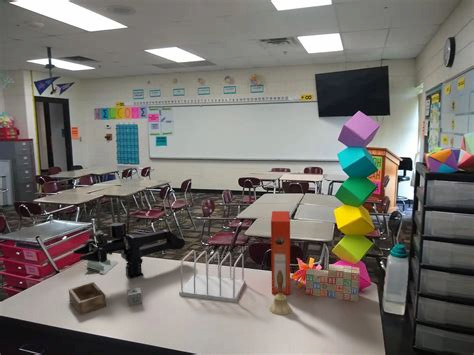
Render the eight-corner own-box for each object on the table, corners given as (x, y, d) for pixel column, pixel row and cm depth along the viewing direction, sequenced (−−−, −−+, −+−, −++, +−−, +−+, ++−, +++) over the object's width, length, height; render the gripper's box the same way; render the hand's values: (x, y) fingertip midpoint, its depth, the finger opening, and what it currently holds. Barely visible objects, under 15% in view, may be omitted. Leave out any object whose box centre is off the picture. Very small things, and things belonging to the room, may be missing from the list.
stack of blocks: (305, 294, 146) (305, 266, 144) (307, 288, 151) (307, 261, 150) (358, 302, 139) (359, 273, 137) (358, 294, 144) (359, 267, 143)
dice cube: (129, 306, 138) (128, 295, 137) (127, 301, 142) (126, 289, 142) (141, 304, 140) (141, 292, 139) (140, 298, 144) (139, 287, 144)
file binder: (271, 294, 146) (270, 221, 141) (272, 276, 163) (272, 211, 158) (290, 295, 145) (290, 221, 140) (289, 277, 162) (289, 211, 157)
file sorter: (178, 296, 146) (177, 261, 144) (194, 278, 163) (193, 247, 161) (235, 302, 140) (235, 266, 138) (245, 283, 156) (245, 251, 154)
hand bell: (277, 317, 128) (277, 276, 126) (265, 307, 136) (265, 268, 133) (295, 311, 132) (296, 272, 130) (283, 302, 139) (283, 264, 137)
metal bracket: (80, 263, 169) (95, 252, 184) (78, 273, 170) (93, 262, 185) (107, 271, 168) (121, 259, 183) (105, 282, 169) (118, 269, 184)
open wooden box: (94, 293, 150) (93, 282, 149) (106, 306, 138) (105, 294, 137) (69, 300, 143) (68, 289, 143) (79, 315, 132) (78, 303, 131)
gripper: (103, 225, 165) (68, 232, 155) (118, 234, 151) (81, 242, 141) (105, 247, 167) (71, 256, 157) (120, 258, 153) (83, 268, 143)
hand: (76, 255), depth 149 cm, fingers open, 9 cm apart
